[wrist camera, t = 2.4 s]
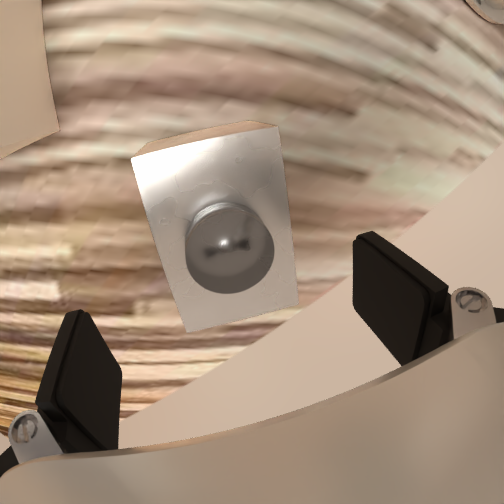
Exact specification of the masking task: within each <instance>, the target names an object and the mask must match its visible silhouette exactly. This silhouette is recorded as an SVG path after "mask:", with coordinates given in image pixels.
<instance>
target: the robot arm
mask: <svg viewBox="0 0 504 504" xmlns="http://www.w3.org/2000/svg"><path fill="white" fill-rule="evenodd" d="M465 1H466V2H467V3H468V4H469V5H470V6H471V7H472V8H473V9H474V10H475V11H476V12H477V13H478V14H479V15H480V16H481V17H483V18H484V19H486V20H487V21H489V22H491V23H494V24H504V0H465ZM448 288H449V286H448V285H447V284H445V283H444V282H443V281H442V280H440V279H439V278H438V277H436V276H435V275H434V274H432V273H431V272H430V271H428V270H427V269H426V268H424V267H423V266H422V265H420V264H419V263H418V262H416V261H415V260H413V259H412V258H411V257H409V256H408V255H407V254H405V253H404V252H402V251H401V250H400V249H398V248H397V247H395V246H394V245H393V244H391V243H390V242H388V241H387V240H385V239H384V238H383V237H381V236H380V235H378V234H377V233H375V232H373V231H370V232H366V233H363V234H359V235H358V236H357V237H356V240H354V241H353V306H354V309H355V310H356V312H357V313H358V314H359V315H360V317H361V318H362V319H363V320H364V321H365V323H367V325H368V326H369V327H370V328H371V329H372V331H373V332H374V333H375V334H376V335H377V337H378V338H379V339H380V340H381V342H382V343H383V344H384V345H385V346H386V348H387V349H388V350H389V351H390V352H391V354H392V355H393V356H394V357H395V358H396V360H397V361H398V362H399V363H400V364H401V366H402V367H400V368H398V369H396V370H394V371H392V372H389V373H387V374H385V375H383V376H381V377H379V378H377V379H374V380H372V381H370V382H368V383H365V384H363V385H361V386H358V387H356V388H354V389H351V390H349V391H346V392H344V393H342V394H339V395H336V396H334V397H332V398H329V399H326V400H324V401H321V402H318V403H315V404H313V405H310V406H307V407H304V408H301V409H298V410H296V411H293V412H290V413H286V414H283V415H280V416H277V417H274V418H270V419H267V420H264V421H260V422H257V423H253V424H250V425H246V426H242V427H238V428H235V429H231V430H227V431H223V432H219V433H214V434H209V435H205V436H201V437H195V438H190V439H186V440H180V441H175V442H169V443H162V444H157V445H150V446H142V447H134V448H126V449H118V435H119V414H120V399H121V386H122V371H121V368H120V366H119V364H118V363H117V361H116V359H115V358H114V356H113V355H112V353H111V351H110V350H109V348H108V346H107V344H106V343H105V341H104V339H103V338H102V336H101V334H100V332H99V331H98V329H97V327H96V325H95V323H94V321H93V320H92V318H91V316H90V314H89V313H88V312H84V311H83V310H81V309H80V310H76V311H72V312H68V313H66V315H65V317H64V319H63V322H62V324H61V327H60V329H59V332H58V335H57V337H56V340H55V343H54V345H53V348H52V351H51V354H50V356H49V359H48V362H47V365H46V368H45V371H44V374H43V377H42V380H41V384H40V387H39V390H38V393H37V397H36V400H35V403H36V405H37V406H38V410H37V412H36V411H34V410H27V411H23V412H21V413H20V414H18V415H17V416H16V417H15V418H14V419H13V421H12V423H11V424H10V427H9V432H8V437H9V441H10V444H11V446H10V447H9V448H8V449H7V450H6V451H5V452H4V453H2V454H1V455H0V504H504V309H502V308H495V307H493V306H492V302H491V300H490V298H489V297H488V296H487V294H485V293H484V292H483V291H481V290H479V289H476V288H471V287H463V288H459V289H457V290H455V291H454V292H453V293H452V295H450V294H449V293H448Z"/></svg>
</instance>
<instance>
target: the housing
mask: <svg viewBox="0 0 504 504" xmlns="http://www.w3.org/2000/svg"><path fill="white" fill-rule="evenodd" d="M131 161H132V165H133V169H134V172H135V176H136V180H137V184H138V187H139V191H140V195H141V198H142V202H143V205H144V208H145V212H146V215H147V219H148V222H149V225H150V228H151V232H152V235H153V238H154V241H155V244H156V247H157V251H158V254H159V257H160V260H161V263H162V266H163V269H164V272H165V274H166V277H167V280H168V283H169V286H170V289H171V292H172V294H173V297H174V300H175V303H176V305H177V308H178V311H179V313H180V316H181V319H182V321H183V324H184V326H185V329H186V331H187V333H189V332H193V331H198V330H202V329H206V328H210V327H214V326H219V325H223V324H227V323H231V322H235V321H239V320H242V319H246V318H250V317H254V316H258V315H262V314H265V313H269V312H273V311H276V310H280V309H283V308H287V307H291V306H294V305H298V304H299V300H298V289H297V278H296V268H295V258H294V248H293V239H292V230H291V221H290V212H289V204H288V195H287V187H286V179H285V171H284V164H283V156H282V149H281V142H280V135H279V128H278V126H274V125H269V124H265V123H259V122H254V121H249V120H248V121H242V122H237V123H231V124H226V125H221V126H216V127H211V128H206V129H202V130H197V131H193V132H188V133H184V134H180V135H176V136H172V137H168V138H164V139H160V140H156V141H152V142H149V143H147V144H146V145H144V146H143V147H142V148H141V149H140V150H139V151H138V152H137V153H136V154H135V155H134V156H133V157H132V158H131Z"/></svg>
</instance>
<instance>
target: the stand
mask: <svg viewBox="0 0 504 504" xmlns="http://www.w3.org/2000/svg"><path fill="white" fill-rule="evenodd" d="M58 131H60V128H59V123H58V119H57V114H56V110H55V105H54V100H53V95H52V89H51V84H50V78H49V71H48V65H47V58H46V50H45V41H44V31H43V18H42V0H0V159H2V158H4V157H6V156H7V155H9V154H11V153H13V152H15V151H17V150H19V149H21V148H23V147H25V146H27V145H29V144H31V143H33V142H35V141H38V140H40V139H42V138H44V137H46V136H49V135H51V134H53V133H55V132H58Z"/></svg>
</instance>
